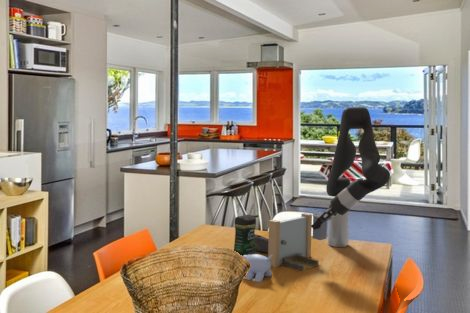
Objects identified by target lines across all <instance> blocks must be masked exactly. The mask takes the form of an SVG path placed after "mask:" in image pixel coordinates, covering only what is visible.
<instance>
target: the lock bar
mask: <svg viewBox="0 0 470 313" xmlns="http://www.w3.org/2000/svg"><path fill="white" fill-rule="evenodd" d="M323 213H324V212H317V213H312V224H314V223H315V222H316V221H317V219H318V218H319V217H320V216H321V215H322V214H323ZM320 220H321V219H320ZM321 221H322V220H321ZM327 232H328V221H327V222H324V223H323V224H322V225H320V226H319V227H318V228H317V229H315V230H314V229H313V228H312V239H314V240H318V241H323V240H327V238H328V233H327Z"/></svg>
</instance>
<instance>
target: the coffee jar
mask: <svg viewBox="0 0 470 313" xmlns="http://www.w3.org/2000/svg"><path fill="white" fill-rule="evenodd" d="M256 219H257V217H256V216H255V215H252V214H245V215H244V214H243V215H240V216H236V217H234V229H235V232H234V233H235V234H234V244H233V252H234V251H236V252H238V253H239V254H240V255H242V256H243V255H248V254H249V255H252V254H256V250H255V234H256V233H255V229H256V227H257V226H256V225H257V221H256Z"/></svg>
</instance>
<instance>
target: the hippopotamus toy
mask: <svg viewBox="0 0 470 313" xmlns="http://www.w3.org/2000/svg"><path fill="white" fill-rule="evenodd" d="M272 256H273V255H271V256H269V257H268V256H266V255H263V254H259V253H255V254H252V255H249V254H248V255H243V257H244V258H245V259H246V260H248V261H249V263H250V265H251V266H250V270H249V271H248V273H247V272H246V273H247V275H246V274H245V276H246V277H245V276H244V277H245V278H244V277H243V279H244V280H247V281H248V280H252V281H253V282H258V283H260V282H263V279H264V277H271V276H272V275H273V274H272V270H271V268H272V266H271V263H270V259H271V257H272Z"/></svg>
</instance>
